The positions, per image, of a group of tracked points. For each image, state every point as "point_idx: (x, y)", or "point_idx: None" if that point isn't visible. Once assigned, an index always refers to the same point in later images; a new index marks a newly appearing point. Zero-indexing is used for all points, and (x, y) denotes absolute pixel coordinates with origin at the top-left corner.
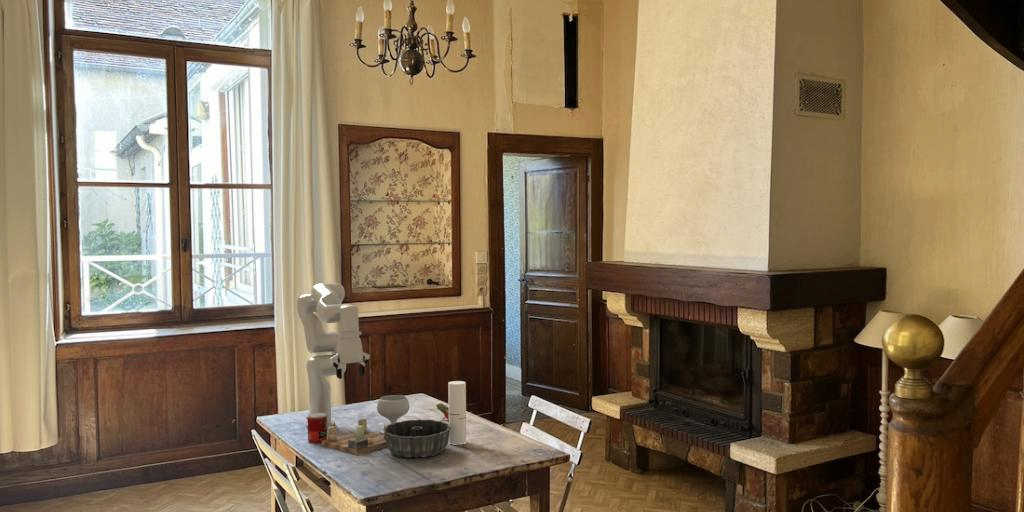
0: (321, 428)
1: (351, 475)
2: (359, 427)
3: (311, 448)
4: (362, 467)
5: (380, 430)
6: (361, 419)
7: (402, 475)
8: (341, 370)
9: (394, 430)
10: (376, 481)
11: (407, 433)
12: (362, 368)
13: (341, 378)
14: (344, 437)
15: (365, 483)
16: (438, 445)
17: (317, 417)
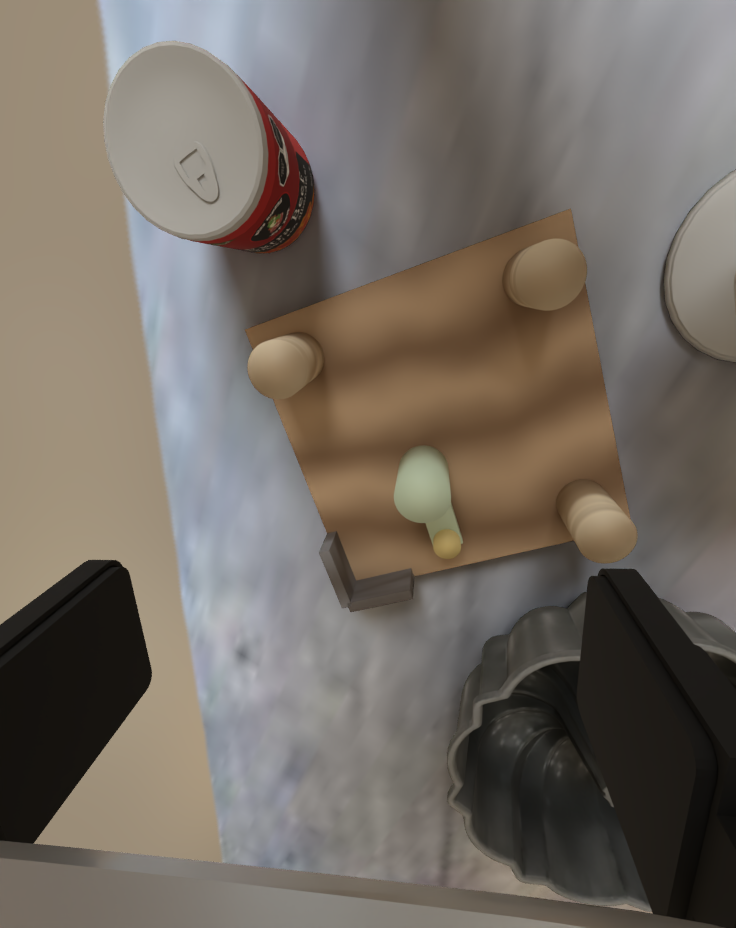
0: (240, 247)
1: (251, 756)
2: (410, 519)
3: (196, 342)
4: (312, 714)
5: (702, 207)
6: (549, 263)
7: (392, 840)
8: (35, 832)
9: (573, 639)
10: (300, 834)
11: None
12: (654, 880)
13: (144, 679)
14: (383, 330)
15: (266, 829)
16: None
17: (174, 233)
